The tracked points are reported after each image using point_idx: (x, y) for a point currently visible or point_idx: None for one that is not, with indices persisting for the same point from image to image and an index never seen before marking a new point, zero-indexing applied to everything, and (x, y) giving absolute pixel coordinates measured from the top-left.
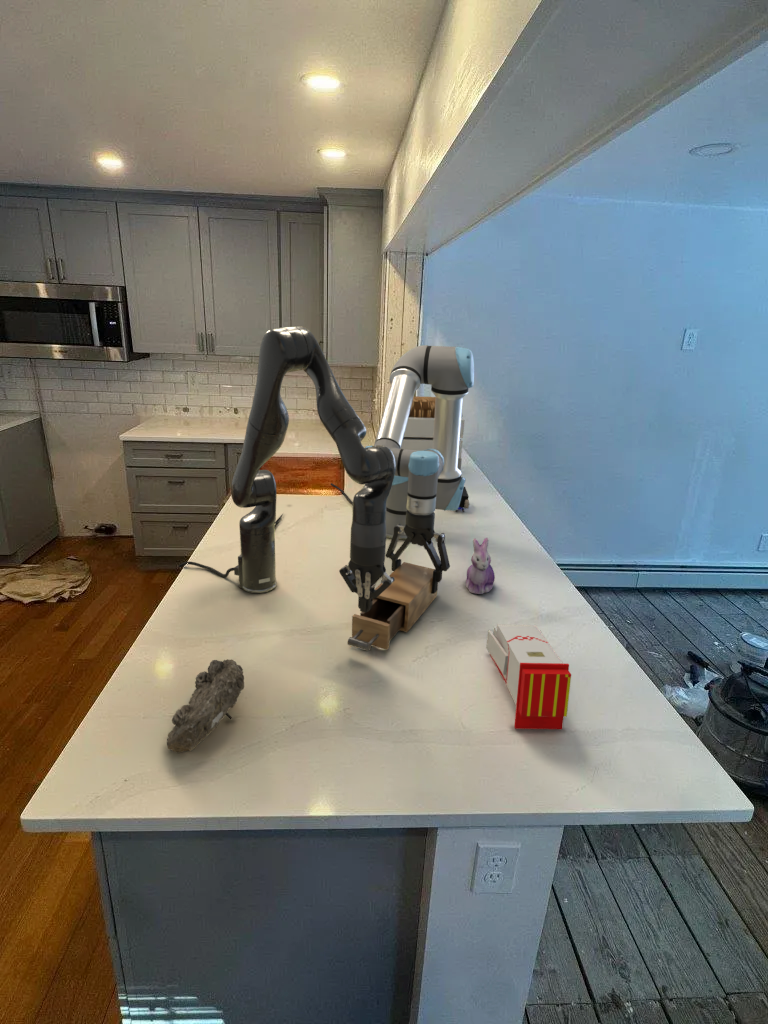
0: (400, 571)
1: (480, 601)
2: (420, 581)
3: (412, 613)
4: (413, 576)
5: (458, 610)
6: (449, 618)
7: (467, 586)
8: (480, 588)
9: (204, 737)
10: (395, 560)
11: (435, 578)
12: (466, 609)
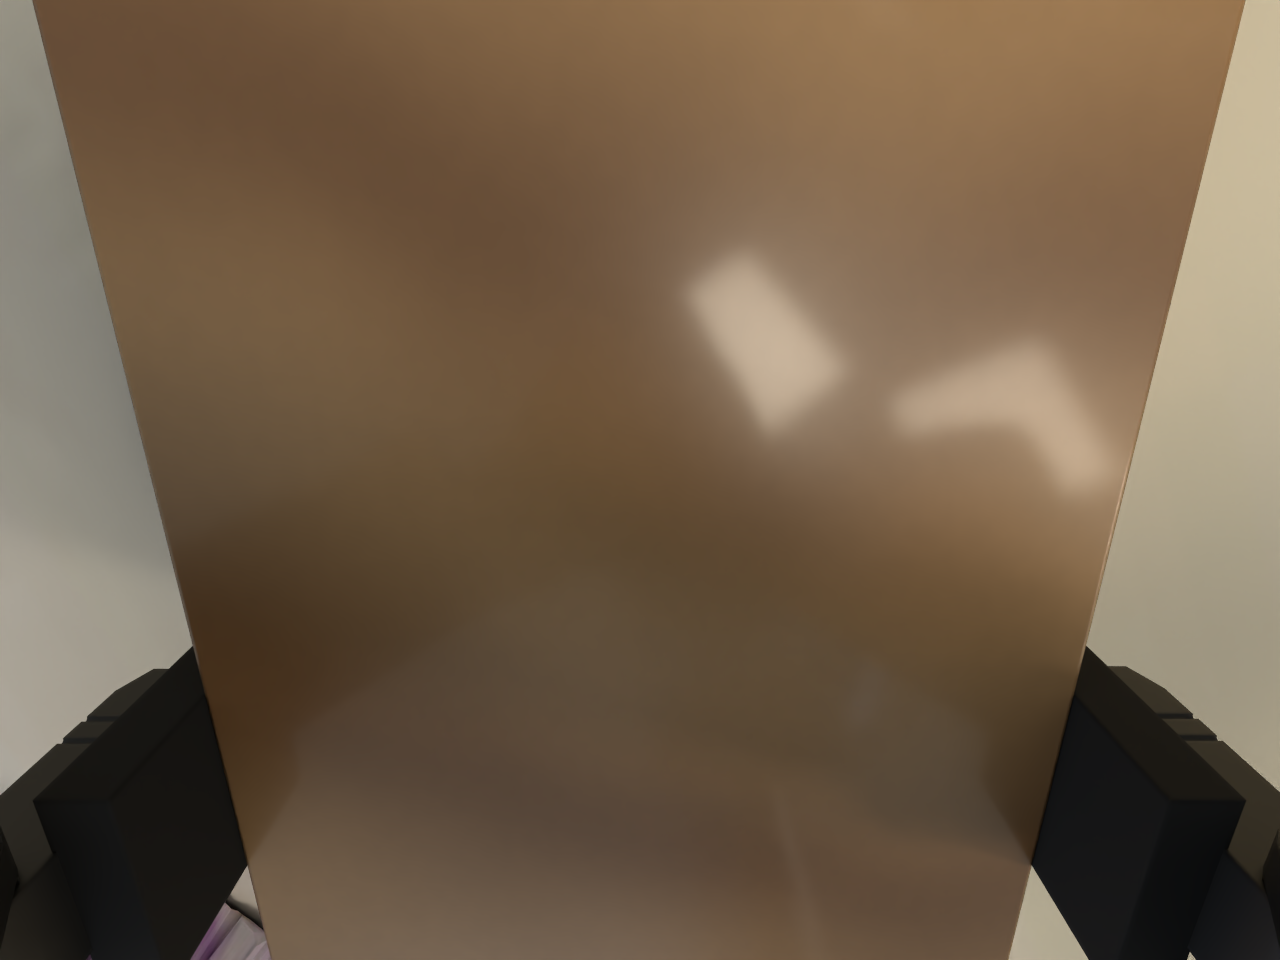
0: (956, 600)
1: (12, 763)
2: (304, 351)
3: None
4: (579, 512)
5: (75, 491)
6: (43, 256)
7: (238, 934)
8: None
9: None
10: (1260, 871)
11: (164, 691)
12: (20, 553)
